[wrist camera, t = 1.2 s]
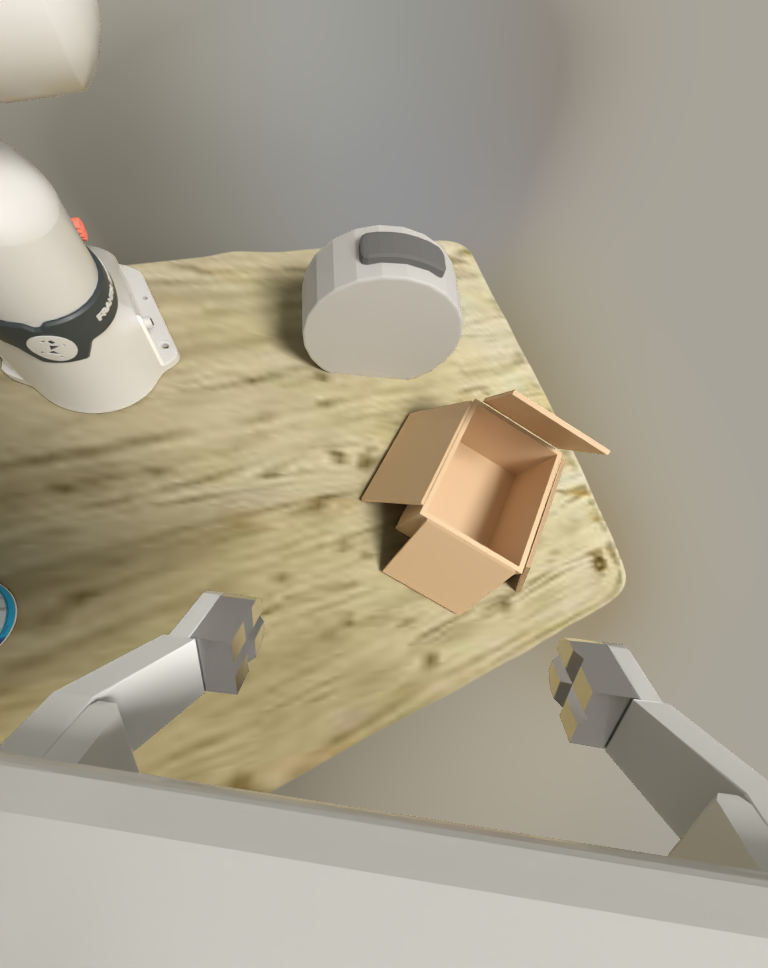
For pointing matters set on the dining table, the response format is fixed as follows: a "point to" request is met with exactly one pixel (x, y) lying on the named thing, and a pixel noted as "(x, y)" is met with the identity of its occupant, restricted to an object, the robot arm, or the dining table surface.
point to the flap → (543, 423)
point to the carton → (465, 501)
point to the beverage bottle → (6, 613)
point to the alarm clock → (381, 304)
